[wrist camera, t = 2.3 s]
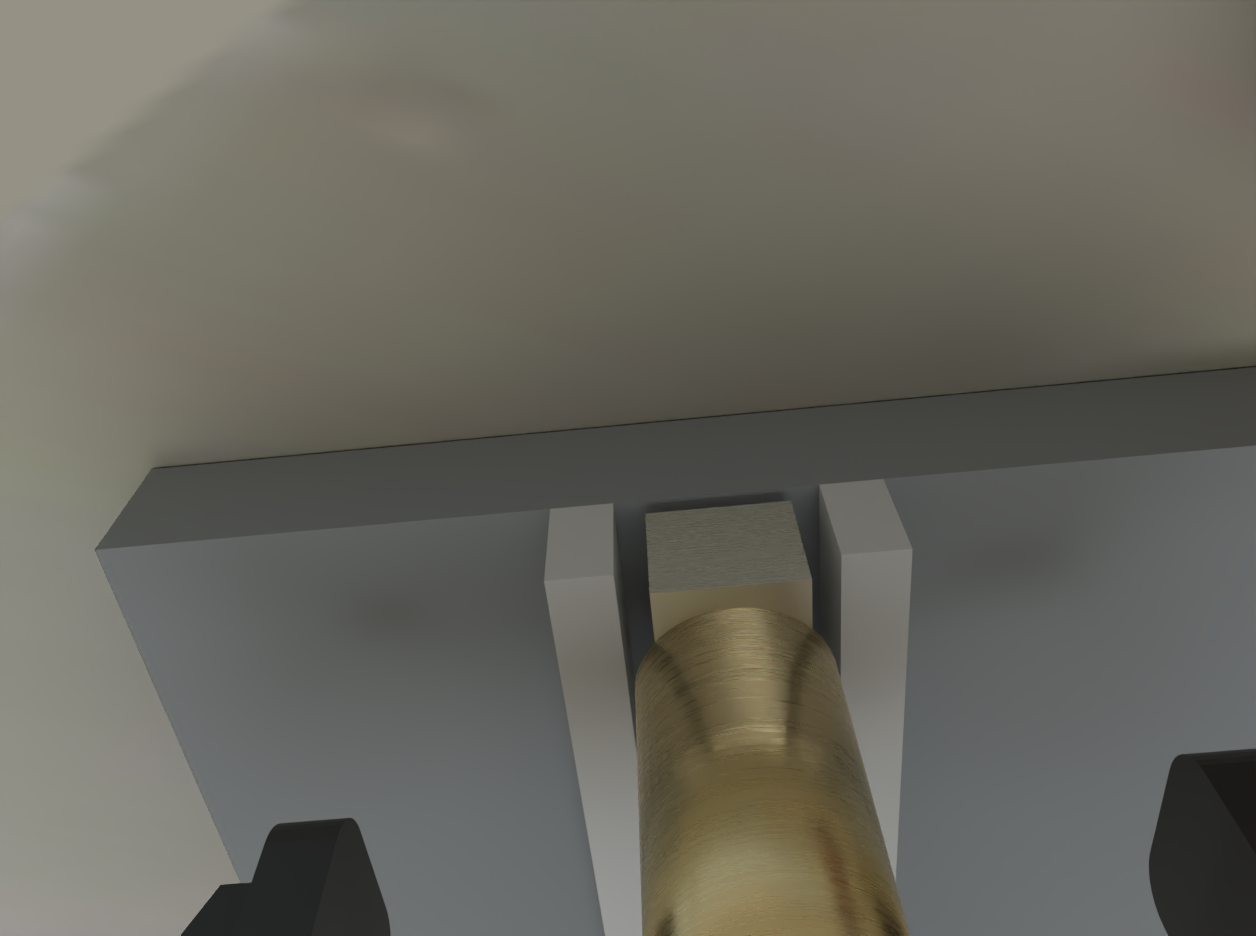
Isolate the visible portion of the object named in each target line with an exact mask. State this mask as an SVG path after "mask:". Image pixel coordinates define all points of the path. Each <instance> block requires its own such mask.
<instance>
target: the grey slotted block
mask: <svg viewBox="0 0 1256 936" xmlns="http://www.w3.org/2000/svg"><path fill="white" fill-rule="evenodd" d="M781 501H791V503H792V507H793V510H794V514H795V518H796V522H797V525H798V529H799V533H800V536H801V540H802V544H803V548H804V551H805V555H806V559H807V563H808V566H809V570H810V574H811V577H812V626H813V630H814V631H815V632H817V633H818V634H819V635H820V636H821V638H822V639H823V640H824V641H825V642H826V643H827V645H828V646H829V648H830V649H831V651H832V653H833V656H834V658H835V660H836V664H837V668H838V671H839V675H840V679H841V683H842V686H843V690H844V694H845V697H846V701H847V705H848V708H849V712H850V716H851V719H852V723H853V727H854V731H855V734H856V738H857V742H858V745H859V749H860V753H861V756H862V760H863V764H864V767H865V771H866V775H867V779H868V782H869V786H870V790H871V793H872V797H873V801H874V804H875V808H876V812H877V816H878V819H879V823H880V827H881V830H882V834H883V838H884V841H885V845H886V849H887V852H888V856H889V860H890V864H891V867H892V871H893V875H894V878H895V882H896V886H897V889H898V893H899V897H900V900H901V904H902V908H903V912H904V915H905V919H906V923H907V926H908V930H909V934H910V936H1168V934H1167V932H1166V930H1165V928H1164V926H1163V924H1162V922H1161V920H1160V917H1159V914H1158V912H1157V909H1156V906H1155V903H1154V899H1153V895H1152V891H1151V885H1150V878H1149V856H1150V851H1151V846H1152V842H1153V838H1154V834H1155V829H1156V825H1157V821H1158V817H1159V812H1160V808H1161V804H1162V800H1163V795H1164V791H1165V787H1166V783H1167V778H1168V774H1169V770H1170V767H1171V764H1172V762H1173V760H1174V758H1175V757H1177V756H1178V755H1181V754H1191V753H1203V752H1216V751H1228V750H1241V749H1253V748H1256V367H1250V368H1239V369H1228V370H1218V371H1207V372H1196V373H1185V374H1174V375H1164V376H1153V377H1142V378H1131V379H1120V380H1110V381H1099V382H1088V383H1077V384H1066V385H1056V386H1045V387H1034V388H1023V389H1012V390H1002V391H991V392H980V393H969V394H958V395H948V396H937V397H926V398H915V399H904V400H894V401H883V402H872V403H861V404H850V405H840V406H829V407H818V408H807V409H796V410H786V411H775V412H764V413H753V414H742V415H732V416H721V417H710V418H699V419H688V420H678V421H667V422H656V423H645V424H634V425H624V426H613V427H602V428H591V429H580V430H570V431H559V432H548V433H537V434H526V435H516V436H505V437H494V438H483V439H472V440H462V441H451V442H440V443H429V444H418V445H408V446H397V447H386V448H375V449H364V450H354V451H343V452H332V453H321V454H310V455H300V456H289V457H278V458H267V459H256V460H246V461H235V462H224V463H213V464H203V465H192V466H181V467H170V468H159V469H152V470H151V471H150V472H149V474H148V475H147V477H146V478H145V480H144V481H143V482H142V484H141V485H140V487H139V488H138V489H137V491H136V492H135V494H134V495H133V497H132V498H131V499H130V501H129V502H128V504H127V505H126V506H125V508H124V509H123V511H122V512H121V514H120V515H119V516H118V518H117V519H116V521H115V522H114V523H113V525H112V526H111V528H110V529H109V530H108V532H107V533H106V535H105V536H104V538H103V539H102V540H101V542H100V543H99V545H98V546H97V547H96V549H95V551H96V554H97V556H98V558H99V561H100V563H101V565H102V567H103V570H104V572H105V574H106V577H107V579H108V581H109V583H110V586H111V588H112V590H113V593H114V595H115V597H116V599H117V602H118V604H119V606H120V609H121V611H122V613H123V615H124V618H125V620H126V622H127V625H128V627H129V629H130V631H131V634H132V636H133V638H134V641H135V643H136V645H137V647H138V650H139V652H140V654H141V657H142V659H143V661H144V663H145V666H146V668H147V670H148V673H149V675H150V677H151V679H152V682H153V684H154V686H155V689H156V691H157V693H158V695H159V698H160V700H161V702H162V705H163V707H164V709H165V711H166V714H167V716H168V718H169V720H170V723H171V725H172V727H173V730H174V732H175V734H176V736H177V739H178V741H179V743H180V746H181V748H182V750H183V752H184V755H185V757H186V759H187V762H188V764H189V766H190V768H191V771H192V773H193V775H194V778H195V780H196V782H197V784H198V787H199V789H200V791H201V794H202V796H203V798H204V800H205V803H206V805H207V807H208V810H209V812H210V814H211V816H212V819H213V821H214V823H215V826H216V828H217V830H218V832H219V835H220V837H221V839H222V842H223V844H224V846H225V848H226V851H227V853H228V855H229V858H230V860H231V862H232V864H233V867H234V869H235V871H236V874H237V876H238V878H239V880H240V883H251V882H252V879H253V876H254V873H255V870H256V867H257V864H258V861H259V859H260V856H261V853H262V850H263V847H264V844H265V841H266V839H267V836H268V834H269V832H270V831H271V829H272V828H273V827H274V826H275V825H277V824H280V823H290V822H303V821H315V820H328V819H340V818H353V819H354V820H355V821H356V822H357V824H358V826H359V829H360V831H361V834H362V837H363V840H364V843H365V846H366V849H367V852H368V855H369V858H370V861H371V864H372V867H373V870H374V873H375V876H376V879H377V882H378V885H379V888H380V891H381V894H382V897H383V900H384V903H385V906H386V909H387V912H388V917H389V923H390V933H391V936H642V907H641V874H640V841H639V808H638V775H637V742H636V709H635V681H636V675H637V672H638V669H639V666H640V664H641V662H642V660H643V658H644V656H645V654H646V653H647V652H648V650H649V649H650V647H651V646H652V645H653V644H654V643H655V639H654V630H653V621H652V612H651V603H650V593H649V575H648V556H647V537H646V518H645V514H647V513H658V512H669V511H680V510H691V509H702V508H714V507H725V506H736V505H747V504H758V503H770V502H781Z"/></svg>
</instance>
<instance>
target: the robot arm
mask: <svg viewBox="0 0 1256 936" xmlns="http://www.w3.org/2000/svg"><path fill="white" fill-rule="evenodd" d="M1149 878H1150V885H1151V891H1152V895H1153V899H1154V903H1155V906H1156V909H1157V912H1158V914H1159V917H1160V920H1161V922H1162V924H1163V926H1164V928H1165V930H1166V932H1167V934H1168V936H1256V748H1253V749H1241V750H1228V751H1216V752H1203V753H1191V754H1181V755H1178V756H1177V757H1175V758H1174V760H1173V762H1172V764H1171V767H1170V770H1169V774H1168V778H1167V783H1166V787H1165V791H1164V795H1163V800H1162V804H1161V808H1160V812H1159V817H1158V821H1157V825H1156V829H1155V834H1154V838H1153V842H1152V846H1151V851H1150V856H1149ZM181 936H391V933H390V923H389V917H388V912H387V909H386V906H385V903H384V900H383V897H382V894H381V891H380V888H379V885H378V882H377V879H376V876H375V873H374V870H373V867H372V864H371V861H370V858H369V855H368V852H367V849H366V846H365V843H364V840H363V837H362V834H361V831H360V829H359V826H358V824H357V822H356V821H355V820H354V819H353V818H340V819H328V820H315V821H303V822H290V823H280V824H277V825H275V826H274V827H273V828H272V829H271V831H270V832H269V834H268V836H267V839H266V841H265V844H264V847H263V850H262V853H261V856H260V859H259V861H258V864H257V867H256V870H255V873H254V876H253V879H252V882H251V883H239V884H226V885H220V887H219V888H218V889H217V890H216V892H215V893H214V894H213V895H212V897H211V898H210V899H209V900H208V902H207V903H206V904H205V905H204V907H203V908H202V909H201V910H200V912H199V913H198V914H197V915H196V917H195V918H194V919H193V920H192V922H191V923H190V924H189V925H188V927H187V928H186V929H185V930H184V932H183V933H182V934H181Z"/></svg>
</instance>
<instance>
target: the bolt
mask: <svg viewBox="0 0 1256 936" xmlns="http://www.w3.org/2000/svg"><path fill="white" fill-rule="evenodd" d="M645 518H646V537H647V556H648V575H649V593H650V603H651V612H652V621H653V630H654V639H655V643H654V644H653V645H652V646H651V647H650V649H649V650H648V652H647V653H646V654H645V656H644V658H643V660H642V662H641V664H640V666H639V669H638V672H637V675H636V681H635V709H636V742H637V775H638V808H639V841H640V874H641V907H642V936H910V934H909V930H908V926H907V923H906V919H905V915H904V912H903V908H902V904H901V900H900V897H899V893H898V889H897V886H896V882H895V878H894V875H893V871H892V867H891V864H890V860H889V856H888V852H887V849H886V845H885V841H884V838H883V834H882V830H881V827H880V823H879V819H878V816H877V812H876V808H875V804H874V801H873V797H872V793H871V790H870V786H869V782H868V779H867V775H866V771H865V767H864V764H863V760H862V756H861V753H860V749H859V745H858V742H857V738H856V734H855V731H854V727H853V723H852V719H851V716H850V712H849V708H848V705H847V701H846V697H845V694H844V690H843V686H842V683H841V679H840V675H839V671H838V668H837V664H836V660H835V658H834V656H833V653H832V651H831V649H830V648H829V646H828V645H827V643H826V642H825V641H824V640H823V639H822V638H821V636H820V635H819V634H818V633H817V632H815V631H814V630H813V626H812V577H811V574H810V570H809V566H808V563H807V559H806V555H805V551H804V548H803V544H802V540H801V536H800V533H799V529H798V525H797V522H796V518H795V514H794V510H793V507H792V503H791V501H781V502H770V503H758V504H747V505H736V506H725V507H714V508H702V509H691V510H680V511H669V512H658V513H647V514H645Z"/></svg>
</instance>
